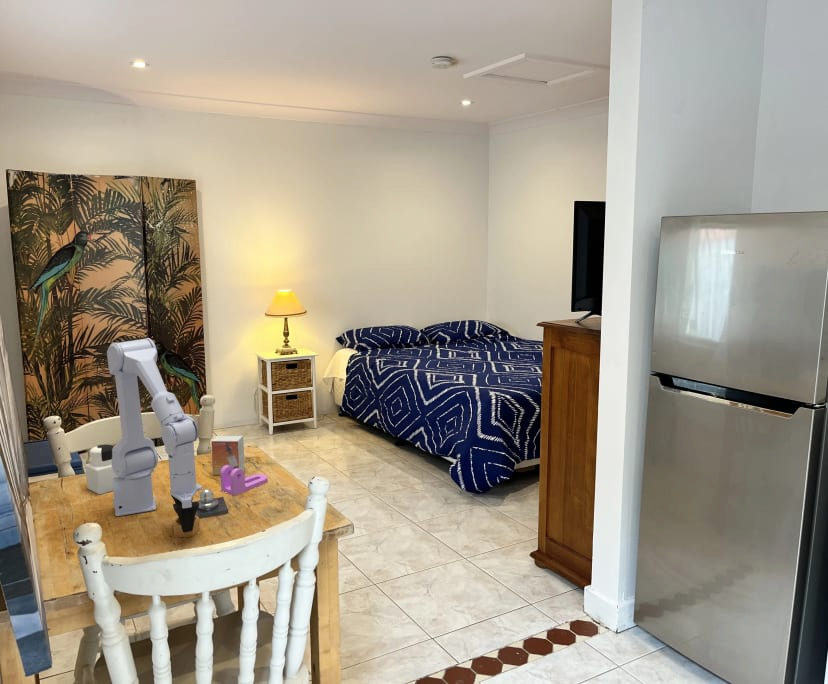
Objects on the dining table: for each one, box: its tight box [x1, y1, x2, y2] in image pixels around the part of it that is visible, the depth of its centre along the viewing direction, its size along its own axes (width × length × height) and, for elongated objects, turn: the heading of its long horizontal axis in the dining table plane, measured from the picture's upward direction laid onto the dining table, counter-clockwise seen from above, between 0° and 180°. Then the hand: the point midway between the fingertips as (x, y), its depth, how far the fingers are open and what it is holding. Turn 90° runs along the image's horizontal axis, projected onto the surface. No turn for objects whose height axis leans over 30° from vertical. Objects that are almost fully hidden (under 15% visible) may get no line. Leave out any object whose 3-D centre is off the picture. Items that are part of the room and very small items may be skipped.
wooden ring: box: [172, 515, 201, 539], centre depth 159 cm, size 6×6×3 cm
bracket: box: [219, 465, 269, 496], centre depth 186 cm, size 13×6×7 cm, turn 143°
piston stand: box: [193, 488, 229, 519], centre depth 171 cm, size 9×9×6 cm
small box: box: [211, 435, 246, 476], centre depth 197 cm, size 8×6×10 cm
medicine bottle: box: [84, 444, 118, 495], centre depth 185 cm, size 7×7×12 cm
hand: (186, 525), depth 159 cm, fingers open, 6 cm apart
